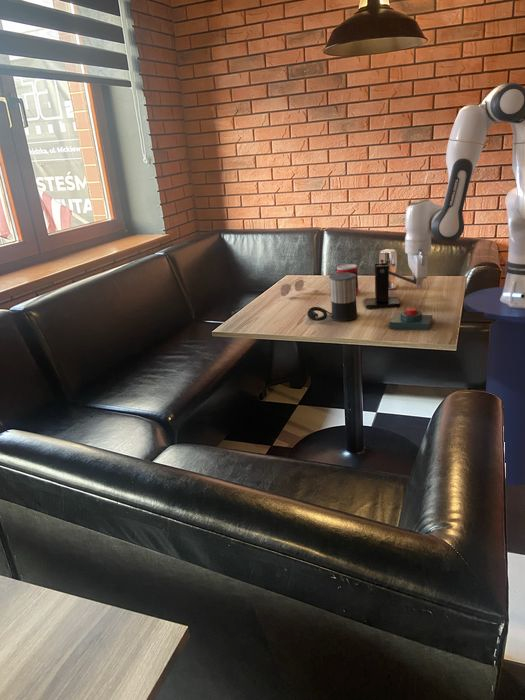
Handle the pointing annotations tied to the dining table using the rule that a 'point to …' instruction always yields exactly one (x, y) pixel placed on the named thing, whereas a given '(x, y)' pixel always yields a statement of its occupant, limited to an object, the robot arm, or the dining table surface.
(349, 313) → the milk frother
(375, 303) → the bracket
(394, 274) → the lever
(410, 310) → the button
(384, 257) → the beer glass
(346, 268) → the canned food
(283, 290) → the sunglasses
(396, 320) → the button box
